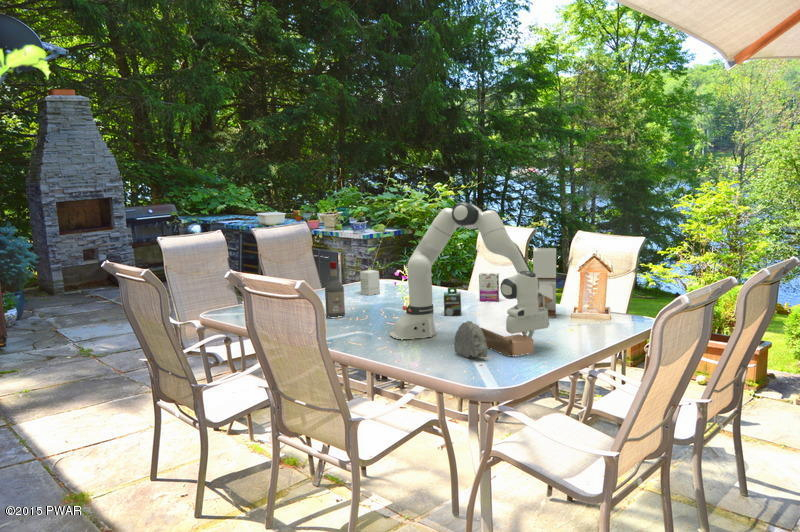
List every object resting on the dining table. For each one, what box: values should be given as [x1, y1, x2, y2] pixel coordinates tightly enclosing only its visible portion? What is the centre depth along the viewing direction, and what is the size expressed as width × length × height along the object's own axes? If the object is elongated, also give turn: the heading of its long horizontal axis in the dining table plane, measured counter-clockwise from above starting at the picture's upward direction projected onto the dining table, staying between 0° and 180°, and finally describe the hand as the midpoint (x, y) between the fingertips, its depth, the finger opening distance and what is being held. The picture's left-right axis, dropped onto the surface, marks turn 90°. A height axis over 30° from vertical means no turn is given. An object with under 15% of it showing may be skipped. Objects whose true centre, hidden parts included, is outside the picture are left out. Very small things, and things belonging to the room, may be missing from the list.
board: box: [480, 327, 512, 357], centre depth 272 cm, size 2×24×7 cm, turn 25°
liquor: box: [324, 261, 346, 318], centre depth 341 cm, size 9×9×30 cm
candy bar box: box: [478, 272, 500, 302], centre depth 370 cm, size 11×5×16 cm, turn 73°
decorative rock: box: [453, 320, 488, 359], centre depth 262 cm, size 16×7×15 cm, turn 33°
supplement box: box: [359, 269, 381, 296], centre depth 402 cm, size 9×9×15 cm
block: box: [505, 333, 534, 356], centre depth 267 cm, size 10×10×6 cm
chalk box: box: [443, 287, 462, 317], centre depth 340 cm, size 9×9×15 cm
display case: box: [532, 247, 557, 319], centre depth 328 cm, size 11×11×35 cm
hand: (528, 340), depth 270 cm, fingers closed
